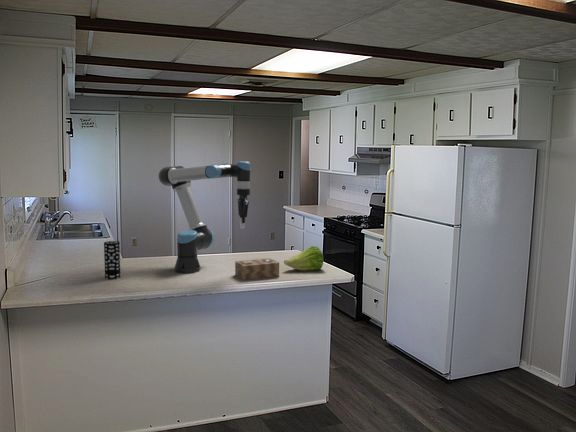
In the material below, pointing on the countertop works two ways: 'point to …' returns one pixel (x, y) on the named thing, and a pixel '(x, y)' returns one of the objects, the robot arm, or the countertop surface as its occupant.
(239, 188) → the robot arm
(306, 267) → the lettuce
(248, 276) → the socket block
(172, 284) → the countertop surface
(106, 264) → the white-spotted black cylinder
